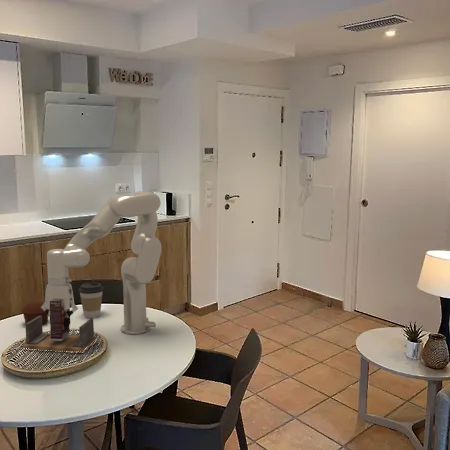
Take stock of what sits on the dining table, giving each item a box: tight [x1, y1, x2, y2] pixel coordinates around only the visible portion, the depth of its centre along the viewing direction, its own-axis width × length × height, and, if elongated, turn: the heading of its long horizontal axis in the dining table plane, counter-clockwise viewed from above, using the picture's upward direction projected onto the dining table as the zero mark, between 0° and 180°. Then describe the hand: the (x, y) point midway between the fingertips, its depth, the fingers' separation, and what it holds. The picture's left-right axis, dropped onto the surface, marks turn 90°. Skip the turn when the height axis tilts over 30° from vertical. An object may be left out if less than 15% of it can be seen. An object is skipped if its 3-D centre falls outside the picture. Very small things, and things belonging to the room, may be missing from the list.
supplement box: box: [49, 300, 71, 341], centre depth 185 cm, size 9×5×16 cm, turn 178°
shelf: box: [23, 316, 98, 351], centre depth 186 cm, size 24×13×10 cm, turn 82°
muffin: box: [21, 300, 49, 327], centre depth 211 cm, size 12×11×10 cm
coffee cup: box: [78, 282, 105, 319], centre depth 221 cm, size 11×11×15 cm
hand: (60, 325), depth 186 cm, fingers closed on supplement box, 5 cm apart
